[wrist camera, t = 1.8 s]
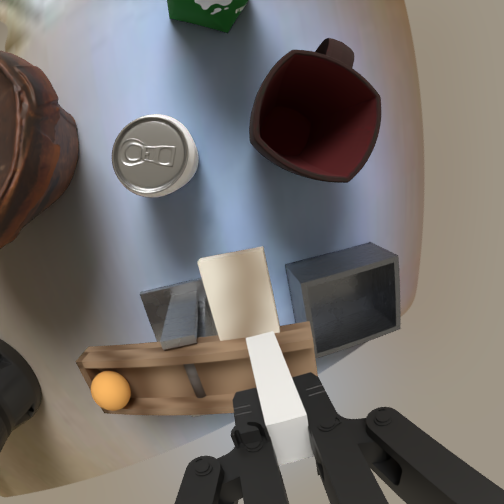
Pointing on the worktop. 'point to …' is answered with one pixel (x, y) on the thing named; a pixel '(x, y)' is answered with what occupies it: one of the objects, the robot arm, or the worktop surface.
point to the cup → (316, 114)
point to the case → (31, 145)
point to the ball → (110, 390)
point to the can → (154, 156)
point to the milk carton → (207, 12)
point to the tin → (346, 296)
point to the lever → (207, 346)
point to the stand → (179, 314)
